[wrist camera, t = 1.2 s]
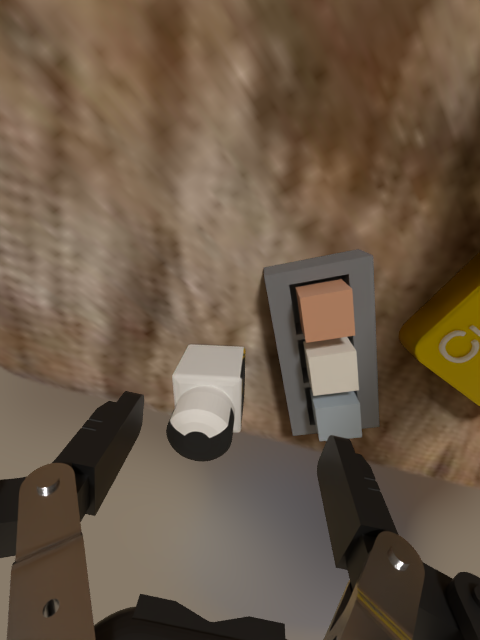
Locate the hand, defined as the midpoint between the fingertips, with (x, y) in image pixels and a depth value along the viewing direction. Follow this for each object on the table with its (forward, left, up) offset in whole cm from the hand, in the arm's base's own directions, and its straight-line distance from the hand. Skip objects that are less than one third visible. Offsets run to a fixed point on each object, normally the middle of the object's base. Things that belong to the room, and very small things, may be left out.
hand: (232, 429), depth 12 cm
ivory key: (-7, +8, -18) cm, 21 cm away
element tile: (-25, +9, -22) cm, 35 cm away
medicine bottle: (+6, +10, -22) cm, 24 cm away
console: (-7, +8, -21) cm, 24 cm away
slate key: (-7, +14, -18) cm, 23 cm away
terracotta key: (-7, +2, -18) cm, 19 cm away
